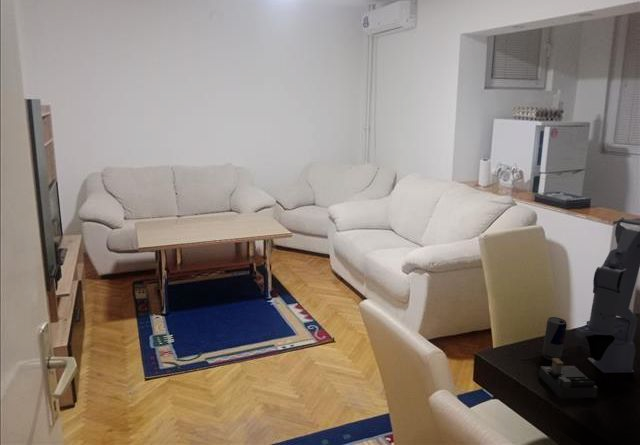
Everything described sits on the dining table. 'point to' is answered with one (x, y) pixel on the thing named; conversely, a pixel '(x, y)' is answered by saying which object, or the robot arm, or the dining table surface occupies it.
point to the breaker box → (569, 383)
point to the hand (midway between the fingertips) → (595, 358)
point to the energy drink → (554, 338)
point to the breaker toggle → (556, 366)
